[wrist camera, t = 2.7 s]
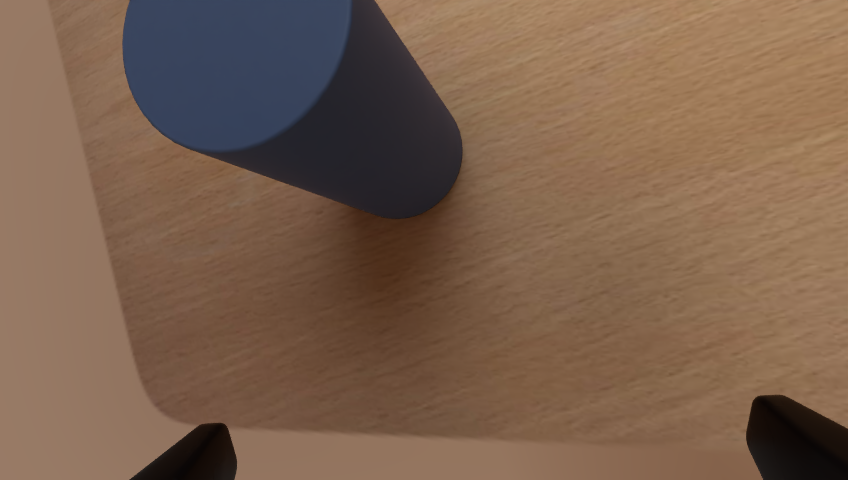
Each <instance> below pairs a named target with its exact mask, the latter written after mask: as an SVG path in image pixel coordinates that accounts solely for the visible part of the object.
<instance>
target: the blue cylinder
mask: <svg viewBox="0 0 848 480" xmlns="http://www.w3.org/2000/svg"><path fill="white" fill-rule="evenodd" d="M123 61H124V68H125V74H126V77H127V81H128V84H129V88H130V90H131V92H132V95H133V97H134V99H135V101H136V103H137V105H138V106H139V108H140V110H141V111H142V113H143V114H144V115H145V117H146V118H147V119H148V120H149V122H150V123H151V124H152V125H153V126H154V127H155V128H156V129H157V130H158V131H159V132H160V133H162V134H163V135H164V136H165V137H167V138H169V139H170V140H172V141H173V142H175V143H177V144H179V145H181V146H183V147H185V148H188V149H190V150H193V151H196V152H199V153H202V154H204V155H207V156H210V157H213V158H216V159H219V160H221V161H224V162H227V163H230V164H233V165H236V166H238V167H241V168H244V169H247V170H250V171H252V172H255V173H258V174H261V175H264V176H267V177H269V178H272V179H275V180H278V181H281V182H284V183H286V184H289V185H292V186H295V187H298V188H301V189H303V190H306V191H309V192H312V193H315V194H317V195H320V196H323V197H326V198H329V199H332V200H334V201H337V202H340V203H343V204H346V205H349V206H351V207H354V208H357V209H360V210H363V211H365V212H368V213H371V214H374V215H377V216H380V217H384V218H391V219H401V218H409V217H412V216H416V215H418V214H421V213H423V212H425V211H427V210H429V209H430V208H432V207H433V206H435V205H436V204H437V203H438V202H439V201H440V200H441V199H443V198H444V197H445V195H446V194H447V193H448V191H449V190H450V189H451V187H452V185H453V184H454V182H455V180H456V178H457V175H458V173H459V169H460V166H461V160H462V141H461V136H460V132H459V129H458V126H457V124H456V122H455V120H454V118H453V117H452V115H451V114H450V112H449V111H448V109H447V108H446V106H445V105H444V103H443V102H442V100H441V99H440V97H439V96H438V94H437V93H436V91H435V90H434V88H433V87H432V85H431V84H430V82H429V81H428V79H427V78H426V76H425V75H424V73H423V72H422V70H421V69H420V67H419V66H418V64H417V63H416V61H415V60H414V58H413V57H412V55H411V54H410V52H409V51H408V49H407V48H406V46H405V45H404V43H403V42H402V41H401V39H400V38H399V36H398V35H397V33H396V32H395V30H394V29H393V27H392V26H391V24H390V23H389V21H388V20H387V18H386V17H385V15H384V14H383V12H382V11H381V9H380V8H379V6H378V5H377V3H376V2H375V0H130V2H129V5H128V8H127V12H126V17H125V23H124V30H123Z"/></svg>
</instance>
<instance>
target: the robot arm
mask: <svg viewBox="0 0 848 480" xmlns="http://www.w3.org/2000/svg"><path fill="white" fill-rule="evenodd" d="M746 440H747V445H748V448H749V450H750V453H751V455H752V457H753V459H754V461H755V463H756V465H757V467H758V469H759V471H760V473H761V476H762V478H763V480H848V429H847V428H845V427H844V426H842V425H840V424H838V423H836V422H834V421H832V420H830V419H828V418H826V417H824V416H822V415H821V414H819V413H817V412H815V411H813V410H811V409H809V408H807V407H805V406H803V405H801V404H800V403H798V402H796V401H794V400H792V399H790V398H788V397H786V396H783V395H762V396H758V397H756V398H755V399H754V400H753V403H752V407H751V412H750V417H749V422H748V426H747V431H746ZM236 470H237V459H236V454H235V451H234V447H233V444H232V441H231V437H230V434H229V430H228V428H227V426H226V425H225V424H223V423H208V424H201V425H199V426H198V427H196V428H195V429H194V430H193V431H191V432H190V433H189V434H187V435H186V436H185V437H184V438H182V439H181V440H180V441H178V442H177V443H176V444H175V445H173V446H172V447H171V448H169V449H168V450H167V451H166V452H164V453H163V454H162V455H161V456H159V457H158V458H157V459H155V460H154V461H153V462H152V463H150V464H149V465H148V466H146V467H145V468H144V469H143V470H141V471H140V472H139V473H137V475H135V476H134V477H132V478H131V479H130V480H234V479H235V475H236Z"/></svg>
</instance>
